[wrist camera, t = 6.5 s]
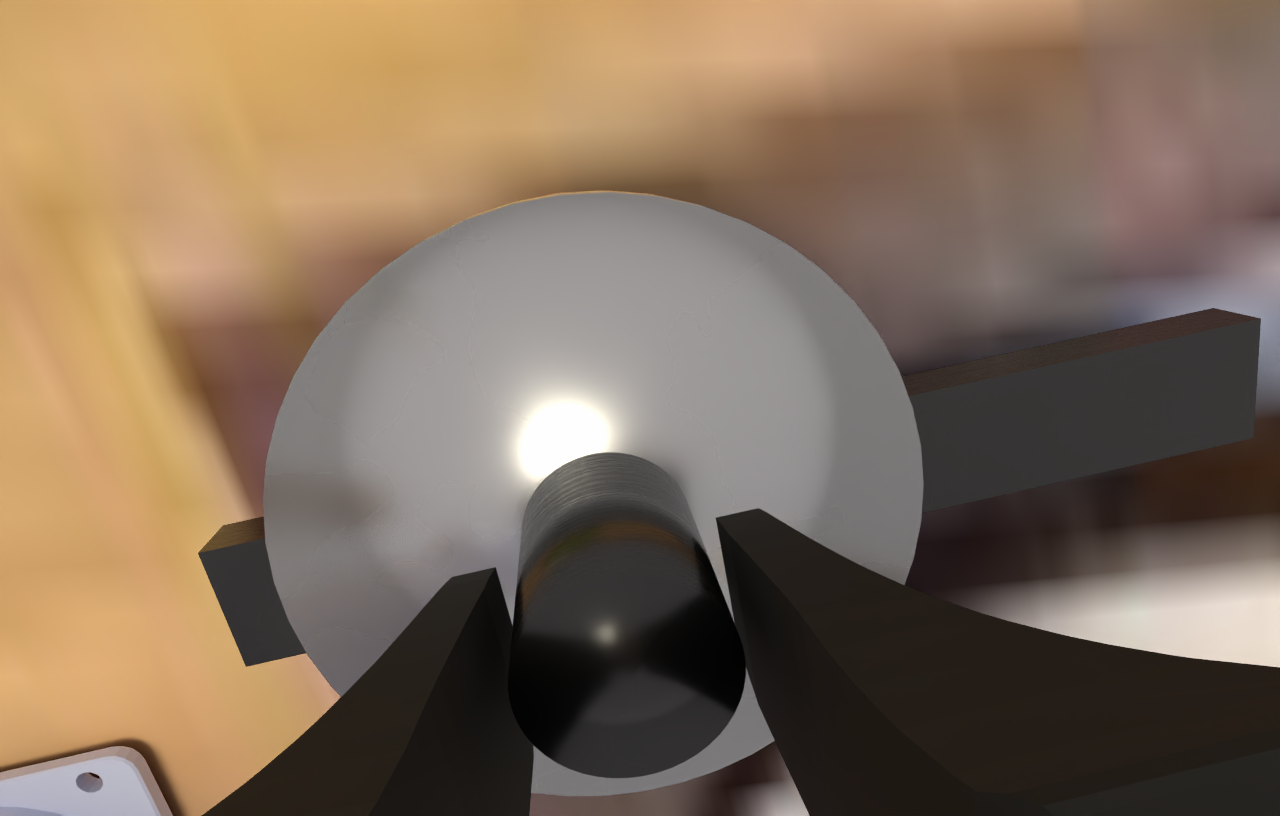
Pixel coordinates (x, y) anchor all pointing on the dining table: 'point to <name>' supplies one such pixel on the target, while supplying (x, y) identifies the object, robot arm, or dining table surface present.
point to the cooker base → (956, 434)
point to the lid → (587, 465)
